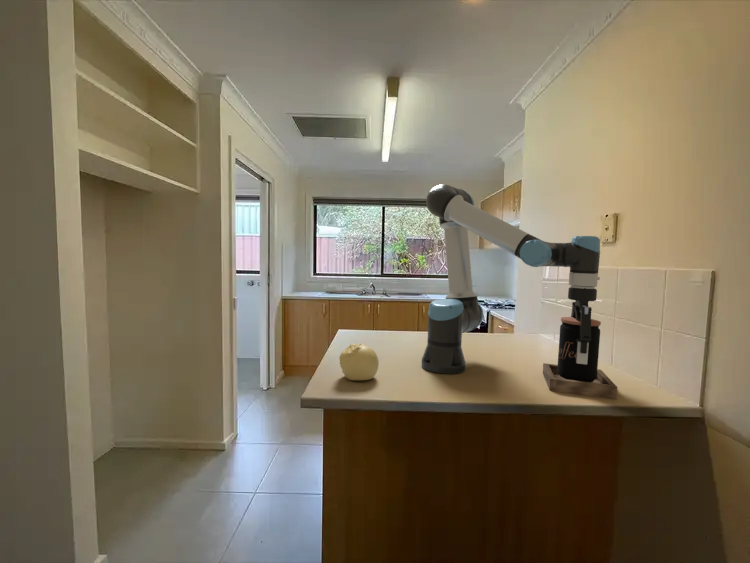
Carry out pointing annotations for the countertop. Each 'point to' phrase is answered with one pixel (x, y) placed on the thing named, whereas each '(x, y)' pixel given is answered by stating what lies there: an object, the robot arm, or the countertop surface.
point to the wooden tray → (579, 384)
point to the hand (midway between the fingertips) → (577, 358)
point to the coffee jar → (569, 351)
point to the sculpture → (359, 362)
